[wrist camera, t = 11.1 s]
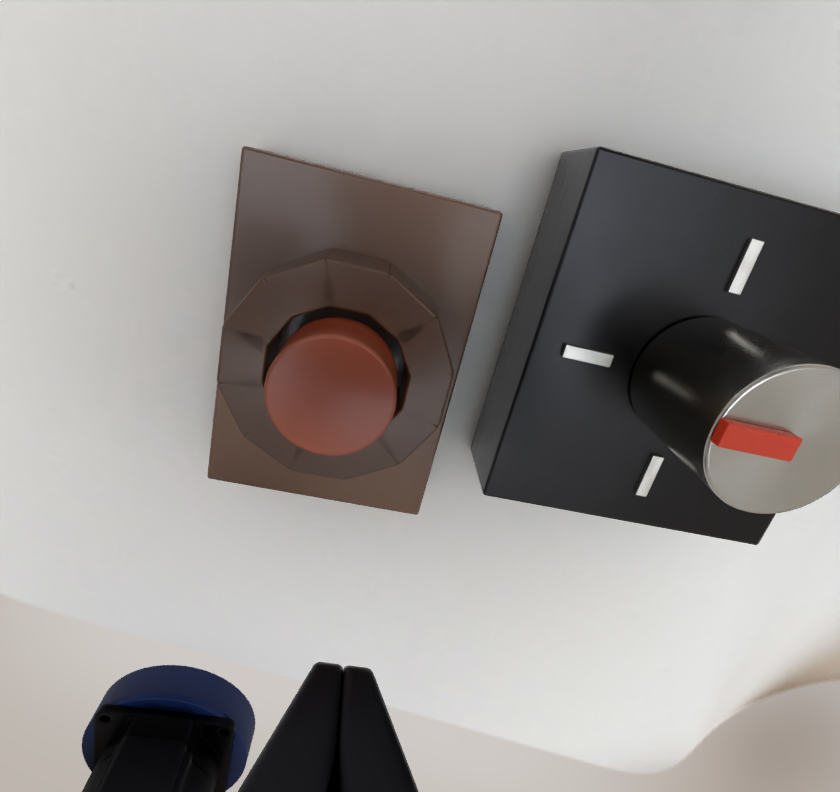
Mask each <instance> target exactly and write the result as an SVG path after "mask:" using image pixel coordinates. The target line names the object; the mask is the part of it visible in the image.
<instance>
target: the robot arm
mask: <svg viewBox="0 0 840 792" xmlns="http://www.w3.org/2000/svg"><path fill="white" fill-rule="evenodd" d="M235 731H236V723H235V721H234V720H232V719H229V718H224V717H215V716H207V715H199V714H190V713H182V712H173V711H165V710H157V709H148V708H140V707H132V706H123V705H115V704H104V705H102V706H100V707H99V709H98V711H97V713H96V715H95V717H94V769H93V771H92V773H91V775H90V777H89V779H88V781H87V783H86V785H85V787H84V789H83V791H82V792H226V787H227V780H228V774H229V768H230V762H231V756H232V749H233V743H234V737H235ZM238 792H418V790H417V787H416V784H415V781H414V779H413V776H412V773H411V771H410V768H409V766H408V763H407V760H406V758H405V755H404V753H403V750H402V747H401V745H400V742H399V739H398V737H397V734H396V732H395V729H394V726H393V724H392V721H391V719H390V716H389V713H388V711H387V708H386V705H385V703H384V700H383V698H382V695H381V692H380V690H379V687H378V684H377V682H376V679H375V677H374V674H373V672H372V671H371V670H370V669H368V668H363V667H355V666H346V667H345V668H344V669H343V668H342V666H341V665H339V664H332V663H324V662H318V663H316V664H315V665H314V666H313V667H312V669H311V671H310V672H309V674H308V676H307V677H306V679H305V681H304V682H303V684H302V686H301V687H300V689H299V691H298V692H297V694H296V696H295V698H294V699H293V701H292V702H291V704H290V706H289V707H288V709H287V711H286V712H285V714H284V716H283V717H282V719H281V721H280V722H279V724H278V726H277V727H276V729H275V731H274V732H273V734H272V736H271V738H270V739H269V741H268V742H267V744H266V746H265V747H264V749H263V751H262V752H261V754H260V756H259V757H258V759H257V761H256V762H255V764H254V766H253V767H252V769H251V770H250V772H249V774H248V776H247V777H246V779H245V780H244V782H243V784H242V786H241V787H240V789H239V791H238Z"/></svg>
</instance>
